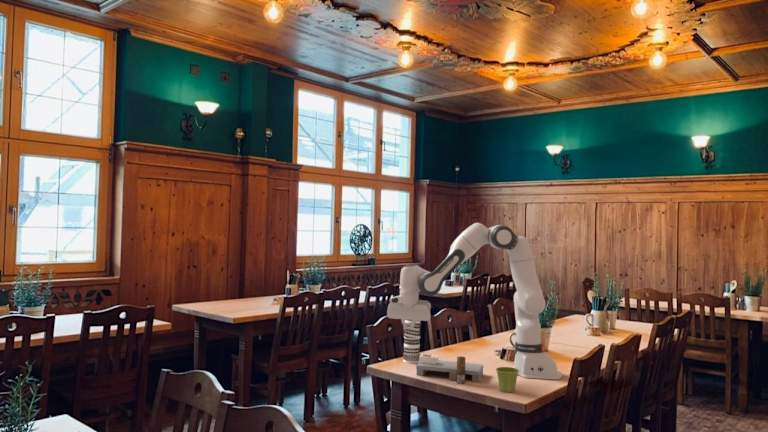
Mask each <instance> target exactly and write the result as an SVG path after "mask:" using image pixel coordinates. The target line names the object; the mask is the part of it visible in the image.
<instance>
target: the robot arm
mask: <svg viewBox="0 0 768 432" xmlns="http://www.w3.org/2000/svg"><path fill="white" fill-rule="evenodd" d="M486 245H488V246H489V247H491V248H494V249H496V250H501V249H502V250H505V251H506V252H507V255H508V260H509V265H510V266H509V267H510V272H511V277H512V281H513V283H514V286H515V289H516V291H515V292H514V294H513V305H514V307H513V308H514V317H515V342H514V362H513V366H512V368H516V369H518V370H519V372H518V375H517V376H520V377H522V378H525V379H542V380H561V379H562V378H563V372H561V371H560V370H558V365H557V362H556V360H555V359H553V357H551V356H550V355H549V354H547V353H546V352H545V351H546V345H545V344H543V343H541V332H542V331H541V330H542V328H541V327H542V326H541V323H540V317H539V314H541V313H543V312H544V310H545V309H546V300H545V297H544V295H543V294H544V293H543V291H542V288H541V287H542V286H541V284H540V281H539V279H538V275H537V269H536V263H535V259H534V254H533V250H532V247H531V244H530V242H529V239H528V238H527V237H525V236H522V235H517V234H516V233H515V232H514V230H512V228H510V227H509V226H507V225H503V224H496V225H492V226H489V227H487V226H486V225H484V224H482V223H481V222H473V224H471V225H469V226H468V227H467V228H465V230H463V231H462V232H461V233H460V234H459V235H458V236H457V237H456V238H455V239H454V241H453V242H452V243H451V245H450V247H449V252H448V254H447V256H446V257H445V259H444V260H442V262H441V263H440V264H439V265H438V266H437V267H436V268H435V269H434V270H432V271H429V270H426V269H425V268H422V267H421V266H419V265H418V264H415V263H412V264H407V265H404V266H402V268H401V269H400V270H401V271H400V275H399V276H400V278H399V286H400V290H399V295H396V296H392V297H390V298H389V304H388V306H387V309H386V310H387V311H386V316H387V318H388V319H395V320H400V322H401V324H402V326H403V330H404V329H407V326H408V325H406V324H405V319H407V320H412V322H413V323H412V325H410V326H409V327H410V328H409V329H410V330H413V325H414V324H415V322H416V320H420V322H422V321H424V322H428V321H430V320H431V308H432V305H431V302H430V301H428V300H424V299H420V298H419V294H420V293H421V294H422V295H424V296H427V297H433V296H436V295H437V294H439V292H440V291H441V289H442V286H443V284H444V281H445V280H446V279H447V278H448V277H449V276H450V275H451V274H452V273H453V272H455V270H456V269H457V268H458V267H459V266H461V264H463V263H465V262H466V261H468V260H469V259H470V258H471V257H472V256H474V255H476V253H477V252H478V251H479V250H480V249H481V247H483V246H486ZM419 292H420V293H419Z"/></svg>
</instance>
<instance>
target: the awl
mask: <svg viewBox="0 0 768 432" xmlns="http://www.w3.org/2000/svg"><path fill="white" fill-rule="evenodd" d="M456 362H457V380H456V384H458V385H464V384H465V381H466V380H465V377H466V374H465V363H466V356H461V355H460V356H457V358H456Z"/></svg>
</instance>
